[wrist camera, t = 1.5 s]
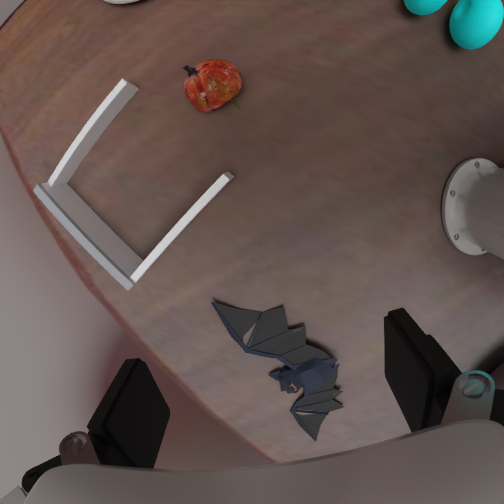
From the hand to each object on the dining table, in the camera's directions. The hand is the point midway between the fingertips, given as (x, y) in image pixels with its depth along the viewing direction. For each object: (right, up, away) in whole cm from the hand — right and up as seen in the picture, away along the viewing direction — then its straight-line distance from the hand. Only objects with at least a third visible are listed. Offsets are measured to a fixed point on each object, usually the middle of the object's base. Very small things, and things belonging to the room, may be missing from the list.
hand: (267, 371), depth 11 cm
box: (-13, +13, +21) cm, 28 cm away
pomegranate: (-4, +21, +19) cm, 29 cm away
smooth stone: (+46, -21, +31) cm, 59 cm away
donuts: (+23, +35, +14) cm, 44 cm away
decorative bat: (+6, -11, +29) cm, 31 cm away
